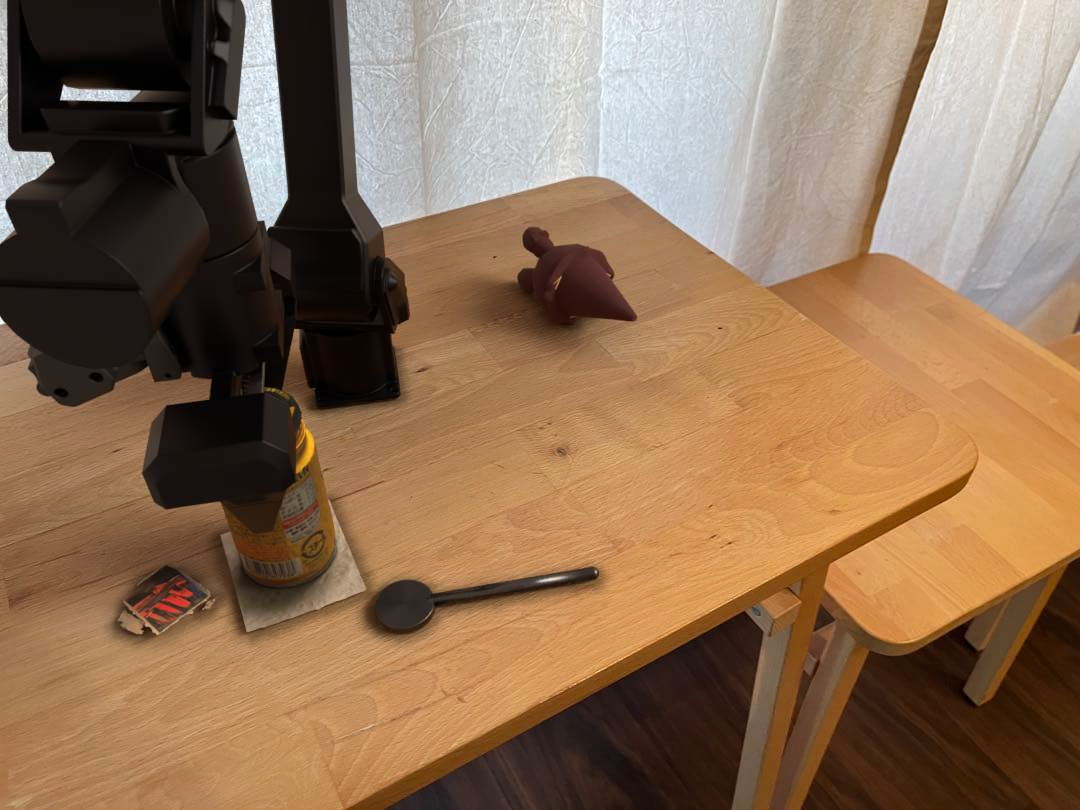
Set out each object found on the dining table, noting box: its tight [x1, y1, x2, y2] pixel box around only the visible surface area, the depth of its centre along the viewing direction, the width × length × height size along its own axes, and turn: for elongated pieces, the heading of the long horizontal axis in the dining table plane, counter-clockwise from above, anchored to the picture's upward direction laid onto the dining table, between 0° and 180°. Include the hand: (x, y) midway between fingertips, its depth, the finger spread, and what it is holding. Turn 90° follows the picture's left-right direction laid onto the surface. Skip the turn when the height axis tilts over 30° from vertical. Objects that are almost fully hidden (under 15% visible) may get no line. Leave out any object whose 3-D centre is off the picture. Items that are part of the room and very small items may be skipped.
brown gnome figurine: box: [516, 226, 638, 325], centre depth 75 cm, size 7×7×15 cm
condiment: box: [219, 387, 367, 633], centre depth 52 cm, size 7×8×12 cm
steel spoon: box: [374, 566, 600, 635], centre depth 54 cm, size 14×4×1 cm, turn 102°
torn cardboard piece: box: [117, 563, 220, 636], centre depth 53 cm, size 5×5×1 cm
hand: (265, 471), depth 51 cm, fingers open, 9 cm apart
